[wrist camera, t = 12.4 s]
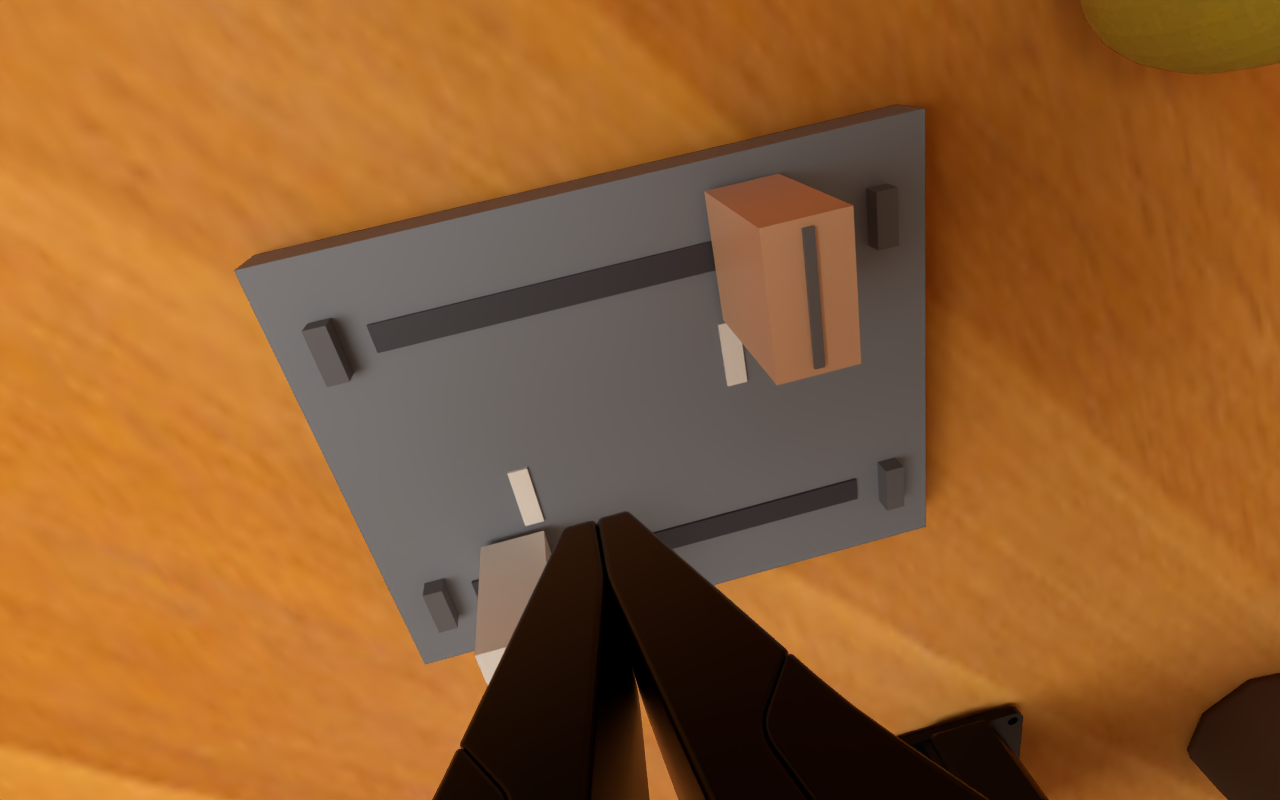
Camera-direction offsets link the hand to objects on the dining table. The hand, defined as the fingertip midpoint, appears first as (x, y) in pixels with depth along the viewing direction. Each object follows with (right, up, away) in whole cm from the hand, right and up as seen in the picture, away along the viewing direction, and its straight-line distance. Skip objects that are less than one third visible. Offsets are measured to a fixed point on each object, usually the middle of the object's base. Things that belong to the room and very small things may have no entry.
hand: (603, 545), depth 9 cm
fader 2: (+3, +6, +10) cm, 12 cm away
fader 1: (-3, -4, +14) cm, 14 cm away
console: (0, +2, +13) cm, 14 cm away
